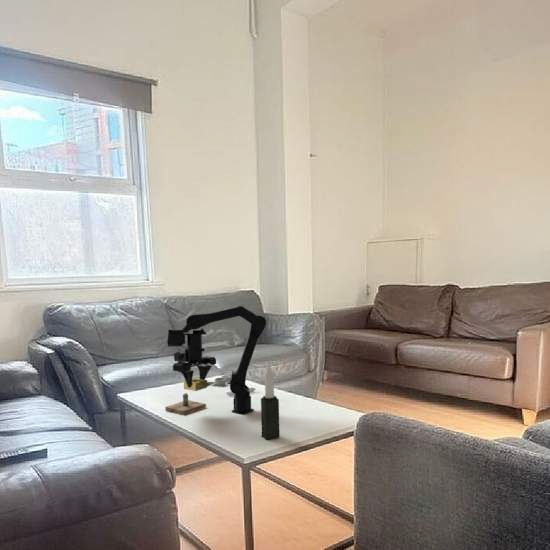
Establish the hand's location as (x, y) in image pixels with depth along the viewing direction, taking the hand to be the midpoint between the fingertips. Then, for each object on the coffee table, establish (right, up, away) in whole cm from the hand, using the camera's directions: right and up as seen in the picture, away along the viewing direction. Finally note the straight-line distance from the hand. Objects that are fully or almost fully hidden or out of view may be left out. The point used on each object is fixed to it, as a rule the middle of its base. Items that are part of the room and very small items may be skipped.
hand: (195, 385), depth 189 cm
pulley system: (+2, -11, +50) cm, 51 cm away
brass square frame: (0, -1, 0) cm, 1 cm away
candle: (+30, -11, -28) cm, 42 cm away
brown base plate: (-5, -11, +7) cm, 14 cm away
